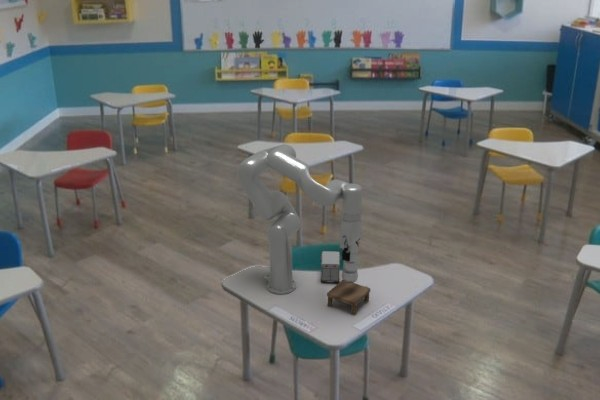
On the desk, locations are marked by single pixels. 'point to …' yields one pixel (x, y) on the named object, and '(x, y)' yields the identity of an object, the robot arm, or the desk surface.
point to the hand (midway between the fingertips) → (350, 256)
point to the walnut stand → (348, 294)
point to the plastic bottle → (351, 265)
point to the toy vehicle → (330, 266)
